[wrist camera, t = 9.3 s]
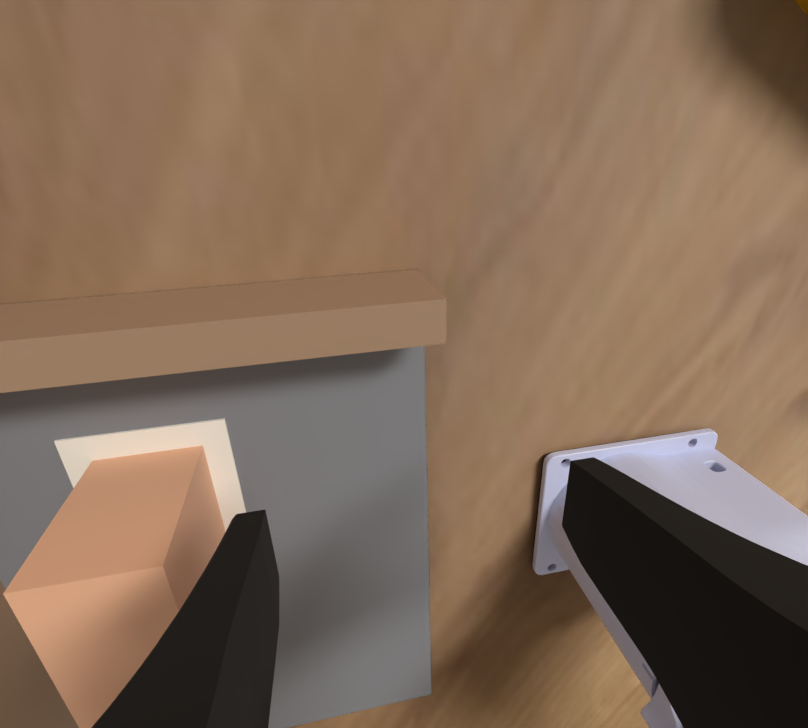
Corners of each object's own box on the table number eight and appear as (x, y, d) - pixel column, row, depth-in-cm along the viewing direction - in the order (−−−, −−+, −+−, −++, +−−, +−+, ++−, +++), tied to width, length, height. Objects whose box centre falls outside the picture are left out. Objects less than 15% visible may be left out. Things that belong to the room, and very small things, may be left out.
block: (236, 573, 22) (214, 714, 16) (142, 590, 21) (87, 743, 16) (202, 445, 19) (162, 566, 13) (92, 460, 18) (3, 593, 13)
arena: (417, 269, 18) (446, 298, 15) (428, 680, 29) (445, 755, 25) (-177, 319, 15) (-324, 372, 12) (81, 759, 26) (47, 857, 22)
